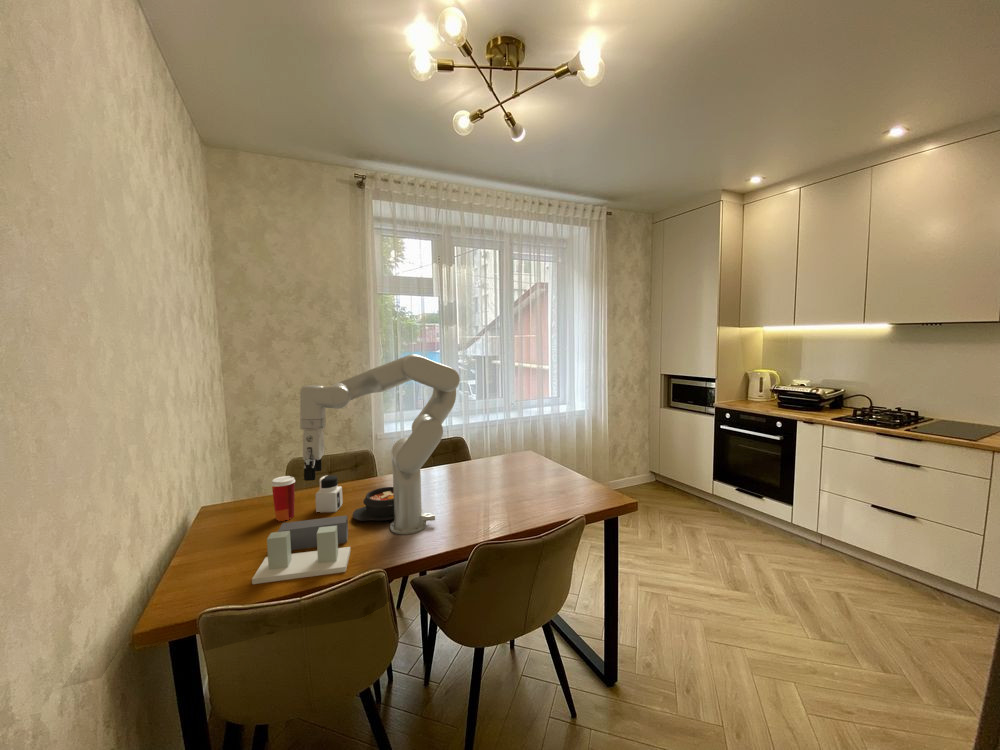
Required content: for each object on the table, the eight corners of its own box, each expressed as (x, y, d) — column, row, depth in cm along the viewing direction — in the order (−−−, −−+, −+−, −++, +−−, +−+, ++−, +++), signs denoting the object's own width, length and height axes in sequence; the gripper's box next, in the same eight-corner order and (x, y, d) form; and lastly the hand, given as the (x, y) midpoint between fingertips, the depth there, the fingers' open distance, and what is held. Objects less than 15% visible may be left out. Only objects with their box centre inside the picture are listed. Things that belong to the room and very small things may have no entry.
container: (343, 504, 167) (341, 473, 166) (336, 512, 159) (334, 479, 158) (323, 505, 167) (322, 473, 166) (315, 512, 159) (314, 480, 158)
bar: (348, 535, 141) (347, 515, 140) (346, 543, 135) (346, 522, 134) (283, 543, 135) (282, 523, 134) (279, 552, 129) (278, 531, 129)
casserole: (354, 531, 143) (354, 507, 142) (350, 511, 160) (349, 490, 159) (425, 517, 153) (425, 496, 153) (414, 500, 170) (413, 481, 170)
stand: (350, 551, 129) (349, 518, 128) (345, 571, 117) (344, 536, 117) (266, 561, 123) (264, 527, 123) (252, 584, 112) (249, 547, 111)
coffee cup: (291, 511, 161) (289, 474, 159) (301, 517, 155) (299, 478, 154) (268, 518, 154) (266, 479, 153) (278, 524, 149) (275, 484, 148)
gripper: (320, 428, 125) (320, 483, 126) (330, 418, 142) (330, 467, 143) (293, 428, 124) (293, 484, 125) (306, 419, 140) (306, 468, 142)
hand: (313, 475), depth 134 cm, fingers open, 9 cm apart
